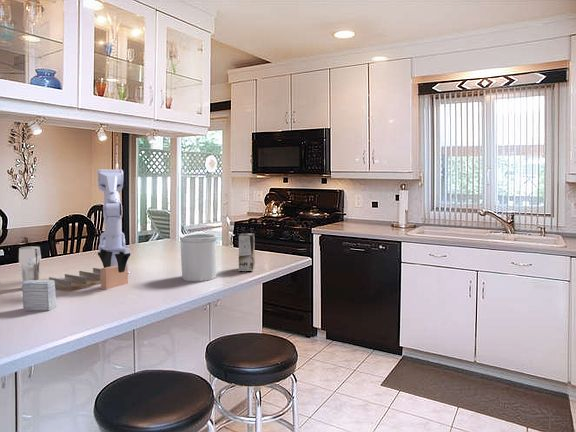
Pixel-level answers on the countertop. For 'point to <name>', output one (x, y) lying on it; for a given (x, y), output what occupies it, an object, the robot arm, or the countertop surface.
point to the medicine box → (39, 295)
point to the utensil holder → (198, 256)
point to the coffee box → (246, 251)
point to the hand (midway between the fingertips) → (114, 271)
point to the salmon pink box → (113, 277)
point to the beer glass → (30, 262)
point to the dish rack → (78, 280)
